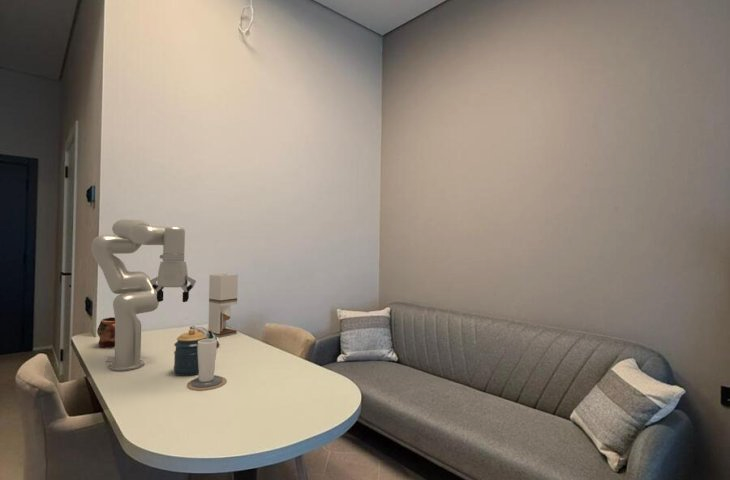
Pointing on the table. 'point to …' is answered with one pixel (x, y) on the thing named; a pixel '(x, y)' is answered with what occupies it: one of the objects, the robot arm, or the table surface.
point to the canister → (187, 353)
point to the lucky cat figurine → (205, 333)
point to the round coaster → (206, 383)
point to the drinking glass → (206, 359)
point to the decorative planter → (107, 332)
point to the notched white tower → (221, 303)
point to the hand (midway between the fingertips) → (172, 301)
